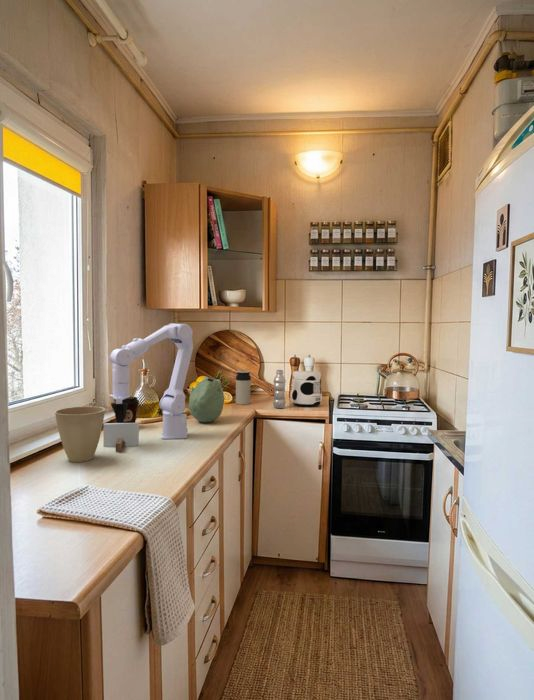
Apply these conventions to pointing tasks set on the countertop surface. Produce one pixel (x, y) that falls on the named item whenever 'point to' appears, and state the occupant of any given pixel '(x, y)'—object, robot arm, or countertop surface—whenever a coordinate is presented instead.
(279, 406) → the plastic bottle
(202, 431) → the countertop surface
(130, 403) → the coffee cup
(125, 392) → the robot arm
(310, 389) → the milk container
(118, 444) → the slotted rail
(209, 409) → the green faceted ovoid
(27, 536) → the countertop surface
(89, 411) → the plant pot
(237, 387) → the travel mug
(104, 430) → the grey arch block
